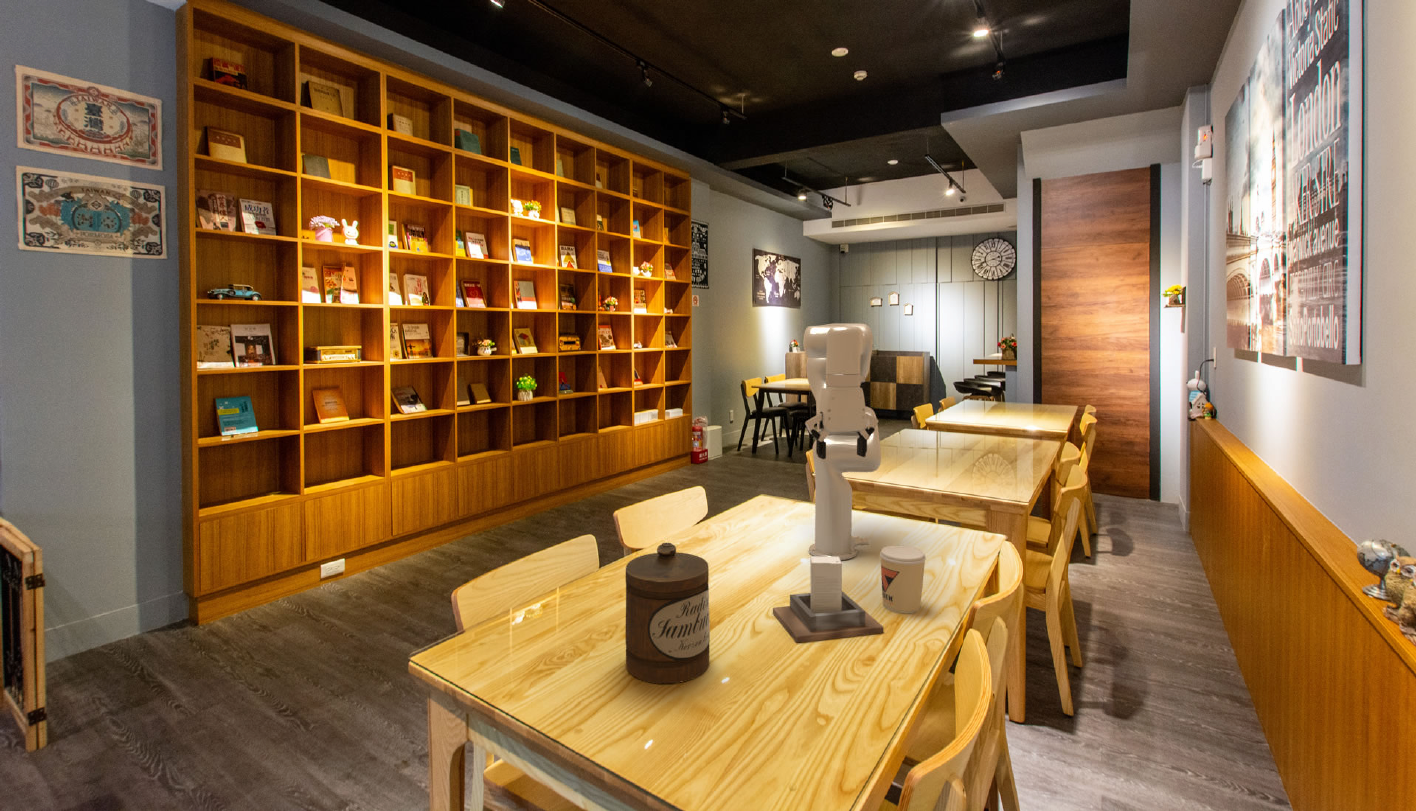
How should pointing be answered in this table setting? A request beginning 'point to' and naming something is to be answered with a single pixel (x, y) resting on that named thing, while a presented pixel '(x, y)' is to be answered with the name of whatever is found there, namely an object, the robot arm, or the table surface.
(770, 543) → the table surface
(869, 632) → the sleeve holder
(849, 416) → the robot arm
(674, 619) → the wooden container
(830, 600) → the skincare box
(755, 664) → the table surface
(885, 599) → the coffee cup
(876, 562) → the table surface
